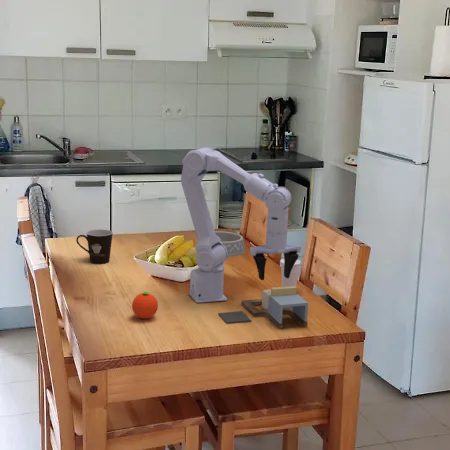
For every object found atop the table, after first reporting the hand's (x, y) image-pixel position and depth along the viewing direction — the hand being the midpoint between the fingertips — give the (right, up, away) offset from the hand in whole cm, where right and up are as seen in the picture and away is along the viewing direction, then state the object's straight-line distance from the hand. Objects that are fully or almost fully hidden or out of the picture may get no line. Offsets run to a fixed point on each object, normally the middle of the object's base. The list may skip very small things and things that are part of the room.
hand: (274, 278), depth 199 cm
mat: (-11, -10, -6) cm, 16 cm away
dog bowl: (-15, +5, +59) cm, 61 cm away
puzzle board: (+1, -10, -2) cm, 10 cm away
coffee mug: (-57, +3, +40) cm, 70 cm away
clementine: (-35, -10, -8) cm, 38 cm away
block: (0, -9, +2) cm, 9 cm away
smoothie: (+6, -6, +17) cm, 19 cm away
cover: (+3, -10, -8) cm, 13 cm away
